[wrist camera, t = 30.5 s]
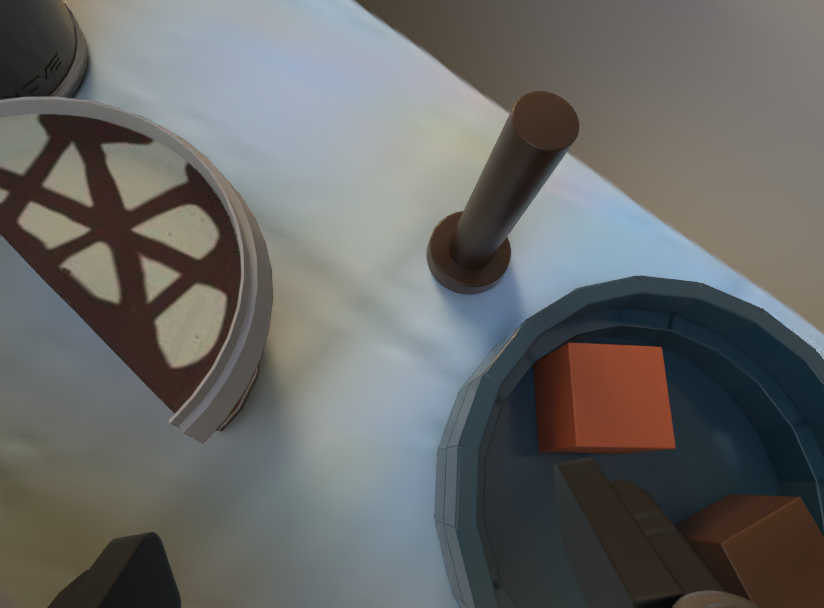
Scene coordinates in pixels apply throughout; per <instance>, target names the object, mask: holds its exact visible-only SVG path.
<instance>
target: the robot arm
mask: <svg viewBox="0 0 824 608" xmlns="http://www.w3.org/2000/svg"><path fill="white" fill-rule="evenodd" d="M86 65H87V45H86V41H85V37H84V35H83V32H82V30H81V28H80V26H79V25H78V23H77V21H76V19H75V18H74V16H73V14H72V12H71V11H70V9H69V8H68V6H67V5H66V4H65V3H64V2H63V0H0V100H4V99H12V98H20V97H64V98H71V97H72V96H73V94H74V93H75V92H76V90H77V89H78V87H79V85H80V83H81V81H82V79H83V77H84V73H85V70H86ZM553 473H554V482H555V491H556V499H557V507H558V516H559V524H560V532H561V537H562V542H563V546H564V550H565V553H566V557H567V560H568V562H569V565H570V567H571V569H572V572H573V574H574V576H575V578H576V581H577V583H578V585H579V587H580V590H581V592H582V594H583V596H584V598H585V601H586V603H587V605H588V607H589V608H762V607H760V606H758V605H757V604H755V603H753V602H751V601H749V600H747V599H745V598H743V597H740V596H737V595H734V594H730V593H728V592H727V591H726V590H725V589H724V587H723V586H722V585H721V583H720V582H719V581H718V580H717V578H716V577H715V576H714V575H713V573H712V572H711V571H710V570H709V568H708V567H707V566H706V564H705V563H704V562H703V561H702V559H701V558H700V557H699V556H698V554H697V553H696V552H695V551H694V549H693V548H692V547H691V545H690V544H689V543H688V542H687V540H686V539H685V538H684V537H683V535H682V534H681V533H680V532H679V531H677V530H676V526H675V525H674V524H673V523H672V521H671V520H670V519H669V518H668V516H667V515H664V512H663V510H662V509H661V507H660V506H659V505H658V504H657V502H656V501H655V500H654V499H653V497H652V496H651V495H650V494H649V492H647V491H645V490H644V489H642V488H640V487H639V486H637V485H635V484H634V483H632V482H630V481H629V480H627V479H620V480H615V481H608V479H607V478H606V476H605V475H604V474H603V472H602V471H601V469H600V468H599V466H598V465H597V463H596V462H595V461H594V459H593V458H591V457H590V458H585V459H579V460H573V461H567V462H562V463H556V464H554V467H553ZM48 608H181V599H180V594H179V591H178V588H177V585H176V582H175V579H174V576H173V573H172V570H171V567H170V564H169V561H168V558H167V555H166V552H165V549H164V546H163V543H162V541H161V539H160V537H159V536H158V535H157V534H156V533H154V532H150V533H144V534H139V535H133V536H127V537H121V538H116V539H113V540H112V541H111V542H110V543H109V544H108V545H107V546H106V548H105V549H104V550H103V552H102V553H101V554H100V556H99V557H98V558H97V560H96V561H95V562H94V564H93V565H92V566H91V567H90V569H89V570H86V571H84V572H83V573H82V574H81V575H80V576H78V577H77V578H76V579H75V580H74V581H73V582H71V583H70V584H69V585H68V586H67V587H65V588H64V589H63V590H62V591H61V592H59V594H58V595H57V596H56V597H55V599H54V600H53V601H52V603H51V604H50V605H49V606H48Z"/></svg>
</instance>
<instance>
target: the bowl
mask: <svg viewBox="0 0 824 608" xmlns="http://www.w3.org/2000/svg"><path fill="white" fill-rule="evenodd" d="M567 343H588V344H610V345H631V346H653V347H662V352H663V359H664V366H665V374H666V381H667V388H668V395H669V403H670V410H671V417H672V425H673V432H674V439H675V446H676V448H675V449H668V450H658V451H647V452H637V453H627V454H606V453H555V452H539V448H538V432H537V415H536V398H535V382H534V365H533V364H534V363H535V362H537V361H538V360H540V359H542V358H543V357H545V356H547V355H548V354H550V353H552V352H554V351H555V350H557V349H559V348H560V347H562V346H564V345H565V344H567ZM590 457H591V458H593V459H594V461H595V462H596V463H597V465H598V466H599V468H600V469H601V471H602V472H603V474H604V475H605V476H606V478H607V479H608V481H615V480H620V479H627V480H629V481H630V482H632V483H634V484H635V485H637V486H639V487H640V488H642V489H644V490H645V491H647V492H649V494H650V495H651V496H652V497H653V499H654V500H655V501H656V502H657V504H658V505H659V506H660V507H661V509H662V510H663V512H664V515H667V516H668V518H669V519H670V520H671V521H672V523H673V524H674V525H676V524H678V523H679V522H681V521H683V520H685V519H686V518H688V517H690V516H692V515H693V514H695V513H697V512H699V511H700V510H702V509H704V508H706V507H707V506H709V505H711V504H713V503H715V502H716V501H718V500H720V499H722V498H723V497H725V496H727V495H729V494H738V495H767V496H796V497H800V498H801V499H802V500H803V502H804V504H805V506H806V507H807V509H808V511H809V512H810V514H811V516H812V517H813V519H814V521H815V523H816V524H817V526H818V528H819V529H820V531H821V533H822V534H823V536H824V359H823V358H822V357H821V356H820V354H819V353H818V352H816V350H815V349H814V348H813V347H811V346H810V345H809V344H808V343H806V342H805V341H804V340H802V339H801V338H800V337H799V336H797V335H796V334H795V333H793V332H792V331H791V330H789V329H788V328H787V327H786V326H784V325H783V324H782V323H780V322H779V321H778V320H777V319H775V318H774V317H773V316H771V315H770V314H769V313H767V312H766V311H765V310H764V309H762V308H761V309H760V308H759V307H757V306H755V305H753V304H750V303H748V302H746V301H743V300H741V299H738V298H736V297H734V296H731V295H729V294H727V293H724V292H722V291H720V290H717V289H715V288H713V287H710V286H708V285H705V284H703V283H699V282H691V281H683V280H674V279H665V278H657V277H648V276H632V277H628V278H623V279H618V280H613V281H609V282H604V283H599V284H594V285H590V286H585V287H580V288H577V289H575V290H573V291H572V292H570V293H569V294H567V295H565V296H564V297H562V298H561V299H559V300H557V301H556V302H554V303H552V304H551V305H549V306H548V307H546V308H544V309H543V310H541V311H539V312H538V313H536V314H535V315H533V316H531V317H530V318H528V319H527V320H525V321H524V322H523V323H522V324H520V325H519V326H518V327H517V328H516V329H514V330H513V331H512V332H511V333H510V334H509V335H507V336H506V337H505V338H504V339H503V340H501V341H500V342H499V343H498V344H497V345H496V346H494V348H493V349H492V350H491V351H490V353H489V354H488V355H487V357H486V358H485V359H484V360H483V362H482V363H481V364H480V365H479V367H478V368H477V369H476V370H475V372H474V373H473V374H472V375H471V377H470V378H469V379H468V380H467V382H466V383H465V384H464V385H463V387H462V388H461V389H460V391H459V393H458V395H457V398H456V401H455V404H454V406H453V409H452V412H451V415H450V417H449V420H448V423H447V426H446V428H445V431H444V434H443V436H442V439H441V442H440V445H439V447H438V452H437V471H436V493H435V514H434V519H435V525H436V530H437V534H438V538H439V542H440V546H441V550H442V554H443V558H444V562H445V566H446V570H447V574H448V578H449V582H450V586H451V590H452V592H453V595H454V597H455V599H456V600H457V602H458V604H459V605H460V607H461V608H589V607H588V605H587V603H586V601H585V598H584V596H583V594H582V592H581V590H580V587H579V585H578V583H577V581H576V578H575V576H574V574H573V572H572V569H571V567H570V565H569V562H568V560H567V557H566V553H565V550H564V546H563V542H562V537H561V532H560V524H559V516H558V507H557V499H556V491H555V482H554V473H553V467H554V464H556V463H562V462H567V461H573V460H579V459H585V458H590Z"/></svg>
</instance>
